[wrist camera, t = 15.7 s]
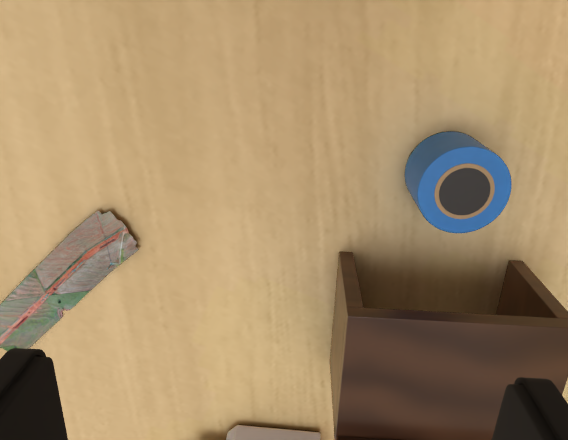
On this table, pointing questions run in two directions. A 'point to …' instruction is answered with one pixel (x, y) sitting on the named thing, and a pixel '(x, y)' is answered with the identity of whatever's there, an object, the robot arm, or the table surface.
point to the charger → (269, 434)
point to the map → (64, 279)
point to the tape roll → (457, 182)
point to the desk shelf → (439, 360)
